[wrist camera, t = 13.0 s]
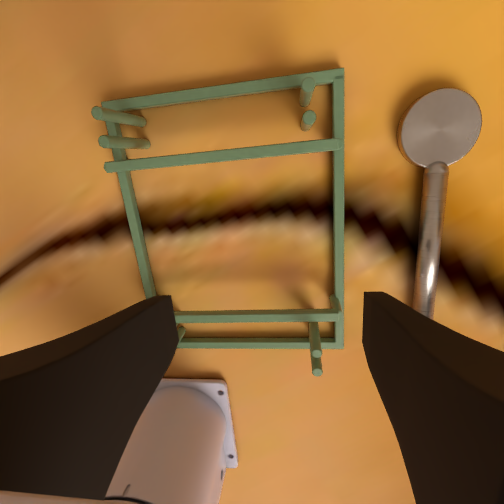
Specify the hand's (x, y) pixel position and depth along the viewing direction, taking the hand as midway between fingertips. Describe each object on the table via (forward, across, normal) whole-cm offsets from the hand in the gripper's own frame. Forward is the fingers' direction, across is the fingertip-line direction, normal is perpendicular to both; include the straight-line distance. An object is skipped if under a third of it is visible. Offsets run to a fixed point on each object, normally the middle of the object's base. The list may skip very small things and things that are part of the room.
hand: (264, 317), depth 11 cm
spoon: (+9, -9, -1) cm, 13 cm away
